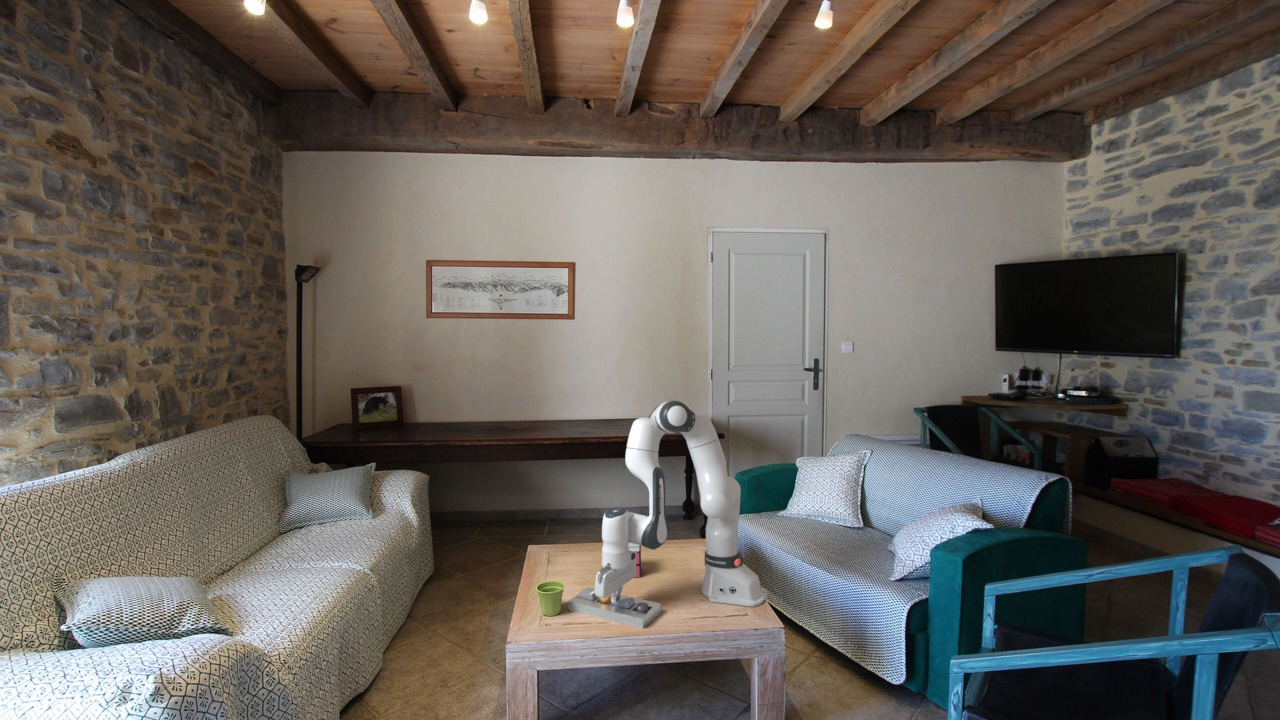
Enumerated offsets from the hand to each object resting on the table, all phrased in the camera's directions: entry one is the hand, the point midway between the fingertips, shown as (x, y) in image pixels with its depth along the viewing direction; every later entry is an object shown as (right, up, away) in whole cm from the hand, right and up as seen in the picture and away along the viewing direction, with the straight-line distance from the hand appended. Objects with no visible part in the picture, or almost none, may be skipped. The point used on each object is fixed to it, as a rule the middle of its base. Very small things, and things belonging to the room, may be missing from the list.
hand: (615, 600), depth 202 cm
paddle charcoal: (-9, 0, +5) cm, 11 cm away
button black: (+9, -3, -4) cm, 10 cm away
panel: (-1, -4, +1) cm, 4 cm away
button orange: (-3, -1, +2) cm, 4 cm away
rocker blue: (+3, -1, -1) cm, 3 cm away
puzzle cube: (+3, -2, +33) cm, 33 cm away
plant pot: (-21, -4, 0) cm, 22 cm away
